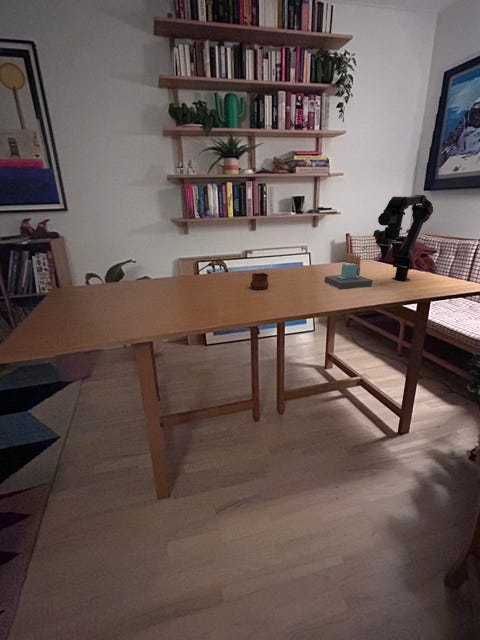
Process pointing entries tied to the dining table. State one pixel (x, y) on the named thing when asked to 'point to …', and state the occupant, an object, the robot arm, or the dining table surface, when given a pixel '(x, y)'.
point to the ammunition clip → (354, 261)
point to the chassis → (348, 282)
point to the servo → (348, 272)
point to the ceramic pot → (259, 281)
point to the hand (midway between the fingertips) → (388, 258)
